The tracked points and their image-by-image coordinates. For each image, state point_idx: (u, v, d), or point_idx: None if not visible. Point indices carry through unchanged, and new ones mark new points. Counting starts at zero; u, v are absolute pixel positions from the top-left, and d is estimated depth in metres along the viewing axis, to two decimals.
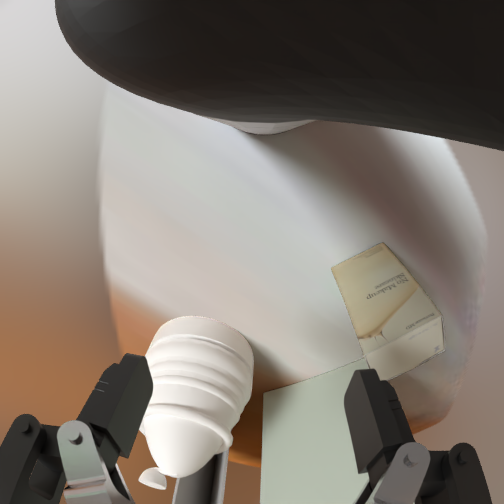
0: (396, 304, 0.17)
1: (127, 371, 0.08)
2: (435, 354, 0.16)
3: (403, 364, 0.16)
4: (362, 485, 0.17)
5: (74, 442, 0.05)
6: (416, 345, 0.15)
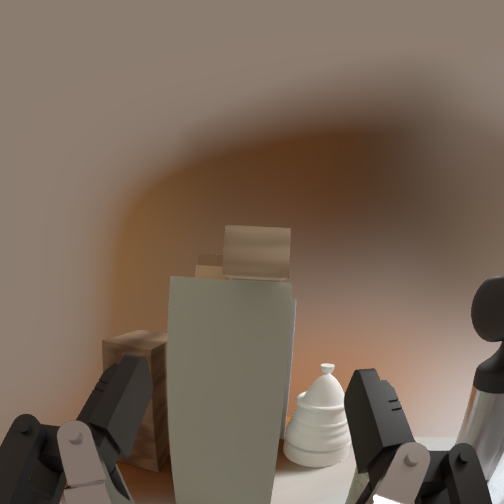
0: None
1: (127, 371, 0.08)
2: None
3: None
4: None
5: (74, 442, 0.05)
6: None
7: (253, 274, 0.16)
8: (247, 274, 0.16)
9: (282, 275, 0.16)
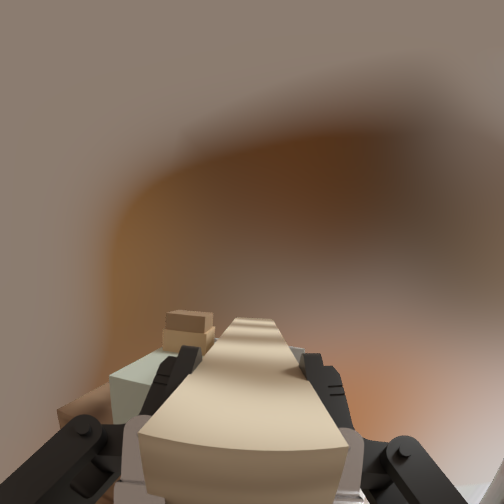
0: None
1: (188, 362, 0.09)
2: None
3: None
4: None
5: None
6: None
7: None
8: None
9: None
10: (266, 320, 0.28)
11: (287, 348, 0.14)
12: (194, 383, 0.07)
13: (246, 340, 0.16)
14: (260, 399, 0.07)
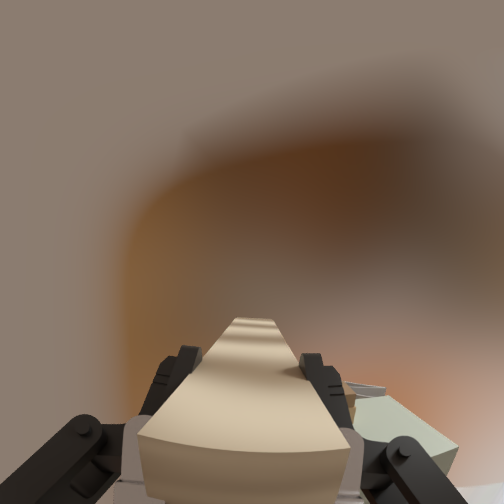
0: None
1: (188, 362, 0.09)
2: None
3: None
4: None
5: None
6: None
7: None
8: None
9: None
10: (266, 320, 0.28)
11: (287, 348, 0.14)
12: (194, 384, 0.07)
13: (246, 340, 0.16)
14: (261, 400, 0.06)
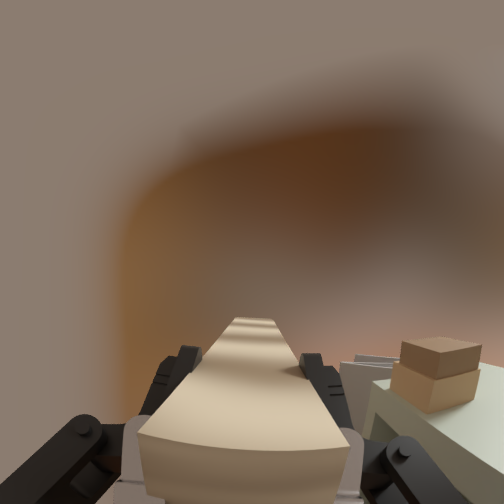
0: None
1: (188, 362, 0.09)
2: None
3: None
4: None
5: None
6: None
7: None
8: None
9: None
10: (266, 320, 0.28)
11: (287, 348, 0.14)
12: (194, 383, 0.07)
13: (246, 340, 0.16)
14: (261, 399, 0.07)
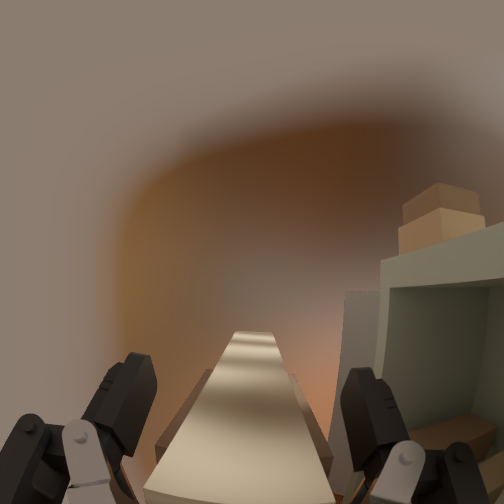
0: None
1: (132, 370, 0.08)
2: None
3: None
4: None
5: (79, 441, 0.05)
6: None
7: None
8: None
9: None
10: (266, 334, 0.28)
11: (286, 376, 0.13)
12: (193, 426, 0.07)
13: (245, 365, 0.15)
14: (257, 446, 0.06)
